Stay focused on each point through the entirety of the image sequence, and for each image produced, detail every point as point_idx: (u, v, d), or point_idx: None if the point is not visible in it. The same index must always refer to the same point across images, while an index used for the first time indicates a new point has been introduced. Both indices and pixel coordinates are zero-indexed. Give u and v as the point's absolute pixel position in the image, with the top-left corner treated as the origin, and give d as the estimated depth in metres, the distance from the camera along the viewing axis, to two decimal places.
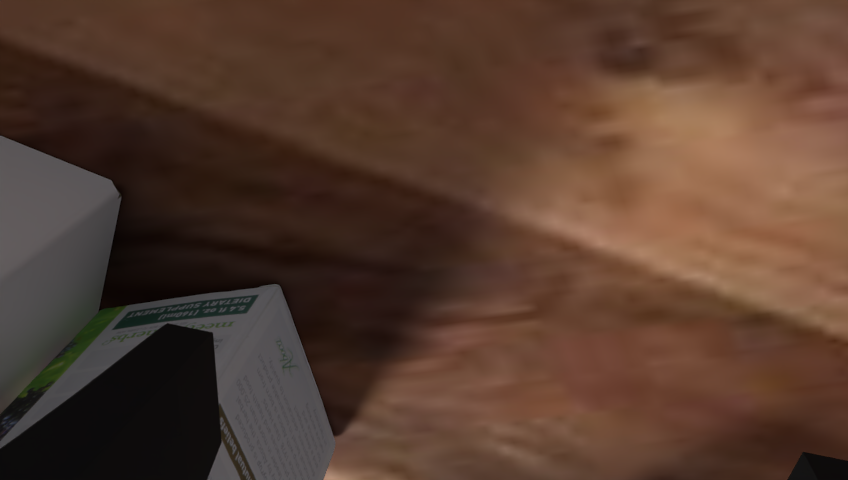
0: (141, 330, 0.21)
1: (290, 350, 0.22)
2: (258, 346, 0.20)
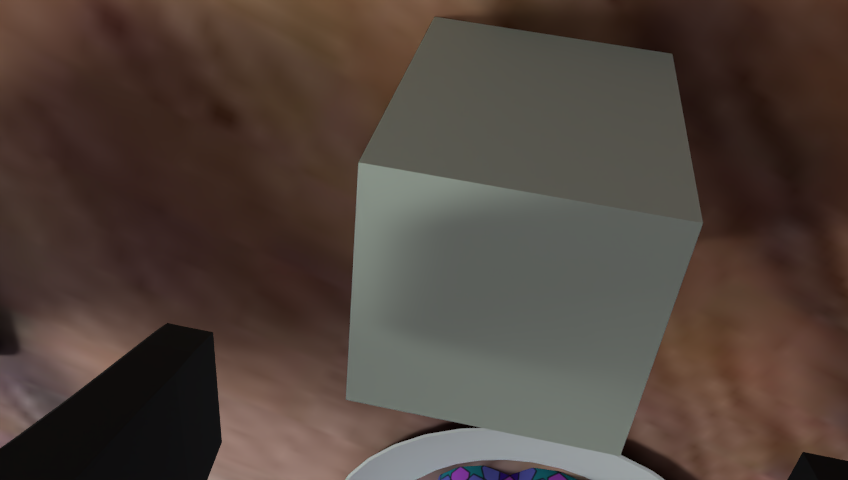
0: None
1: None
2: None
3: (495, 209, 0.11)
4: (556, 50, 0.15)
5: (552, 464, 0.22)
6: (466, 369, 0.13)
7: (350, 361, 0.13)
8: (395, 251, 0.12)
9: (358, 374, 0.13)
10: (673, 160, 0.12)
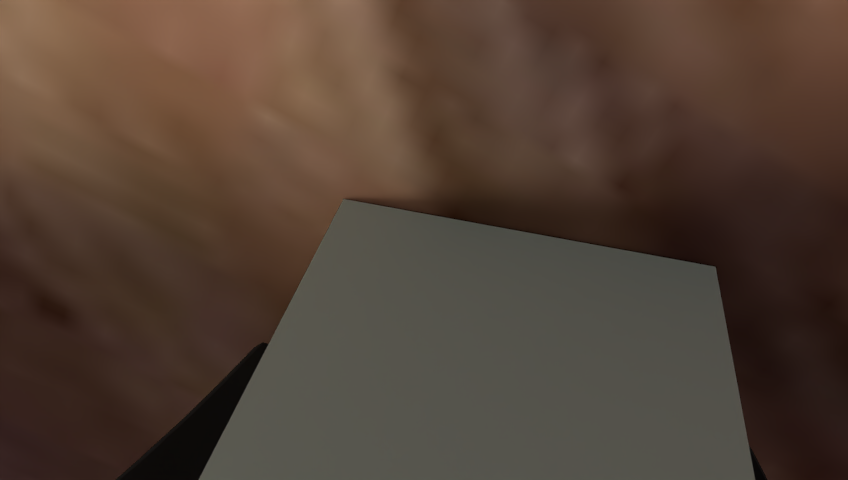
0: None
1: None
2: None
3: None
4: (531, 271, 0.09)
5: None
6: None
7: None
8: None
9: None
10: None
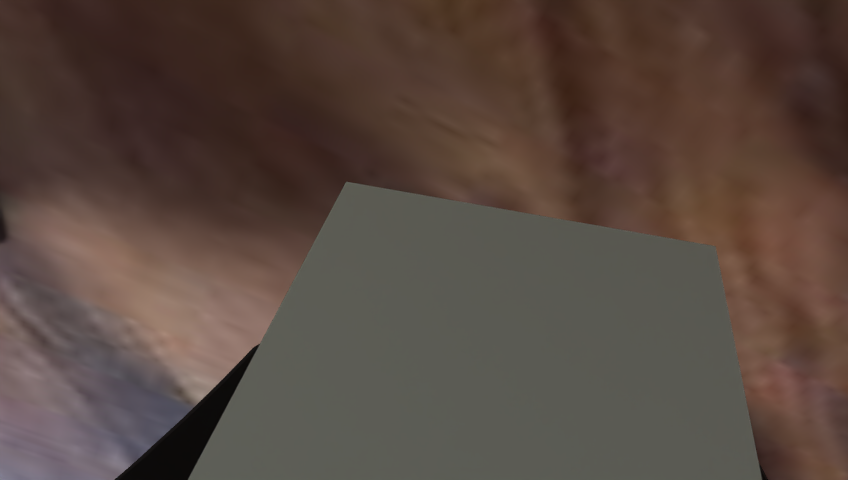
0: None
1: None
2: None
3: None
4: (532, 250, 0.09)
5: None
6: None
7: None
8: None
9: None
10: None
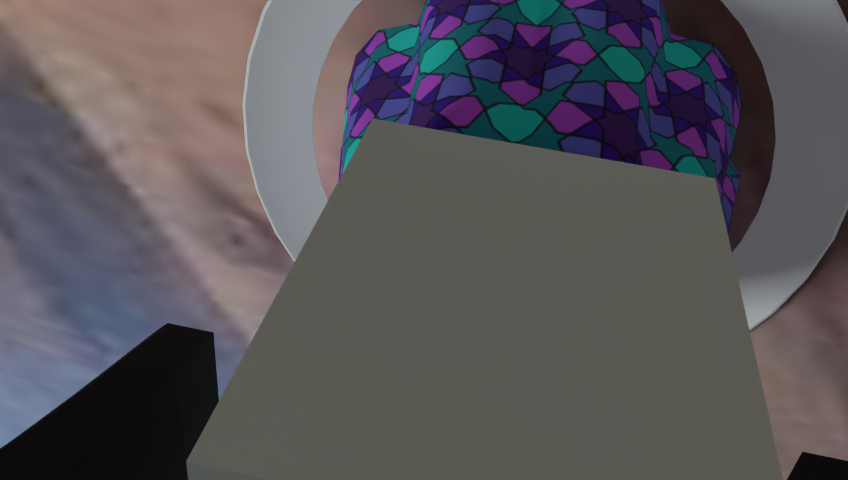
0: None
1: None
2: None
3: None
4: (546, 177, 0.10)
5: None
6: None
7: None
8: None
9: None
10: (740, 421, 0.07)
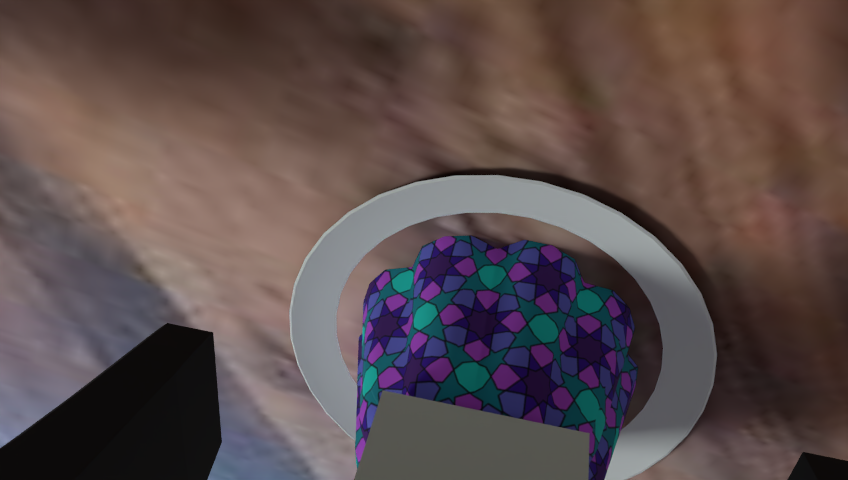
0: None
1: None
2: None
3: None
4: (486, 439, 0.17)
5: None
6: None
7: None
8: None
9: None
10: None
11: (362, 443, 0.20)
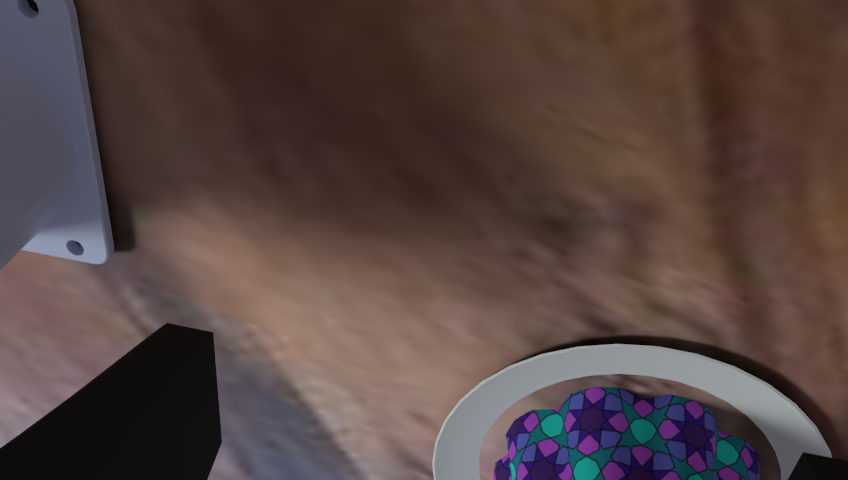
0: None
1: None
2: None
3: None
4: None
5: None
6: None
7: None
8: None
9: None
10: None
11: None
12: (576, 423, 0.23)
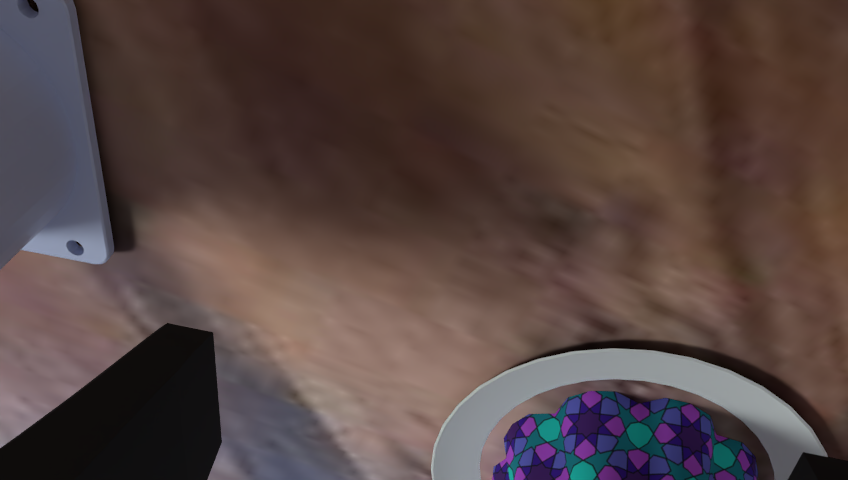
0: None
1: None
2: None
3: None
4: None
5: None
6: None
7: None
8: None
9: None
10: None
11: None
12: (573, 427, 0.23)
